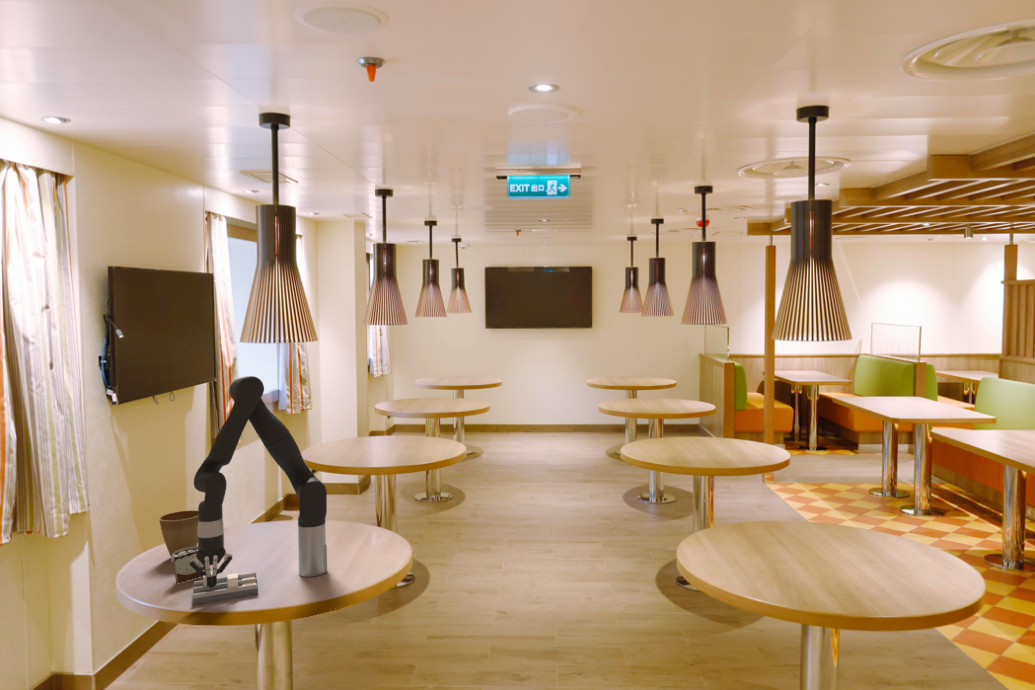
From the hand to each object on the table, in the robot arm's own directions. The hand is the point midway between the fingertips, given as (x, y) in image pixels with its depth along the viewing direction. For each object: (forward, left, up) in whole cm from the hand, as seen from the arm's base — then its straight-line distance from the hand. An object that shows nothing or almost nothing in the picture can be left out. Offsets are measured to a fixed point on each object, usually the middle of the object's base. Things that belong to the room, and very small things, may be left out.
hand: (211, 587), depth 205 cm
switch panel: (-4, -3, -4) cm, 6 cm away
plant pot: (+11, -49, -4) cm, 50 cm away
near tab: (-6, 0, -2) cm, 6 cm away
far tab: (+1, -6, -2) cm, 6 cm away
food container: (+8, -23, -4) cm, 25 cm away
